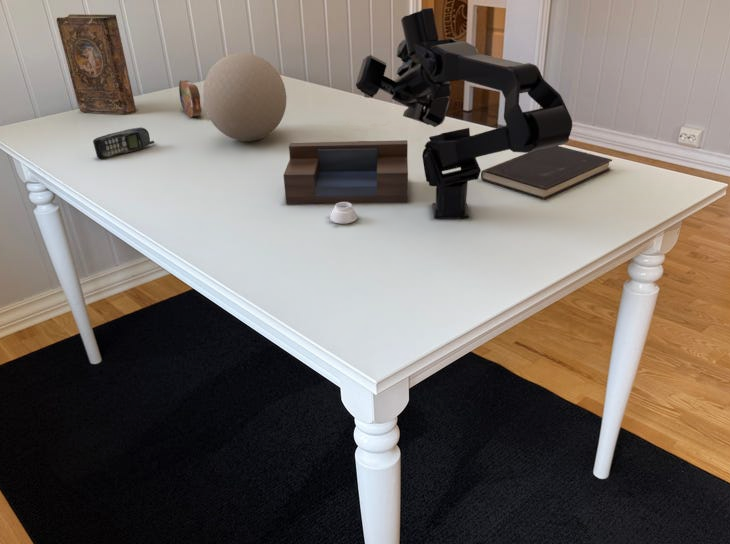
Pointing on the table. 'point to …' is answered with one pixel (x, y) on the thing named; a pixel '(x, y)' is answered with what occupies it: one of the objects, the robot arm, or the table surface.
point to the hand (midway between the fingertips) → (385, 104)
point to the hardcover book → (546, 171)
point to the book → (97, 63)
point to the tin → (190, 98)
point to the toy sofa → (347, 172)
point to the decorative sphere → (244, 96)
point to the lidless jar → (343, 213)
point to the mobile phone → (121, 142)
